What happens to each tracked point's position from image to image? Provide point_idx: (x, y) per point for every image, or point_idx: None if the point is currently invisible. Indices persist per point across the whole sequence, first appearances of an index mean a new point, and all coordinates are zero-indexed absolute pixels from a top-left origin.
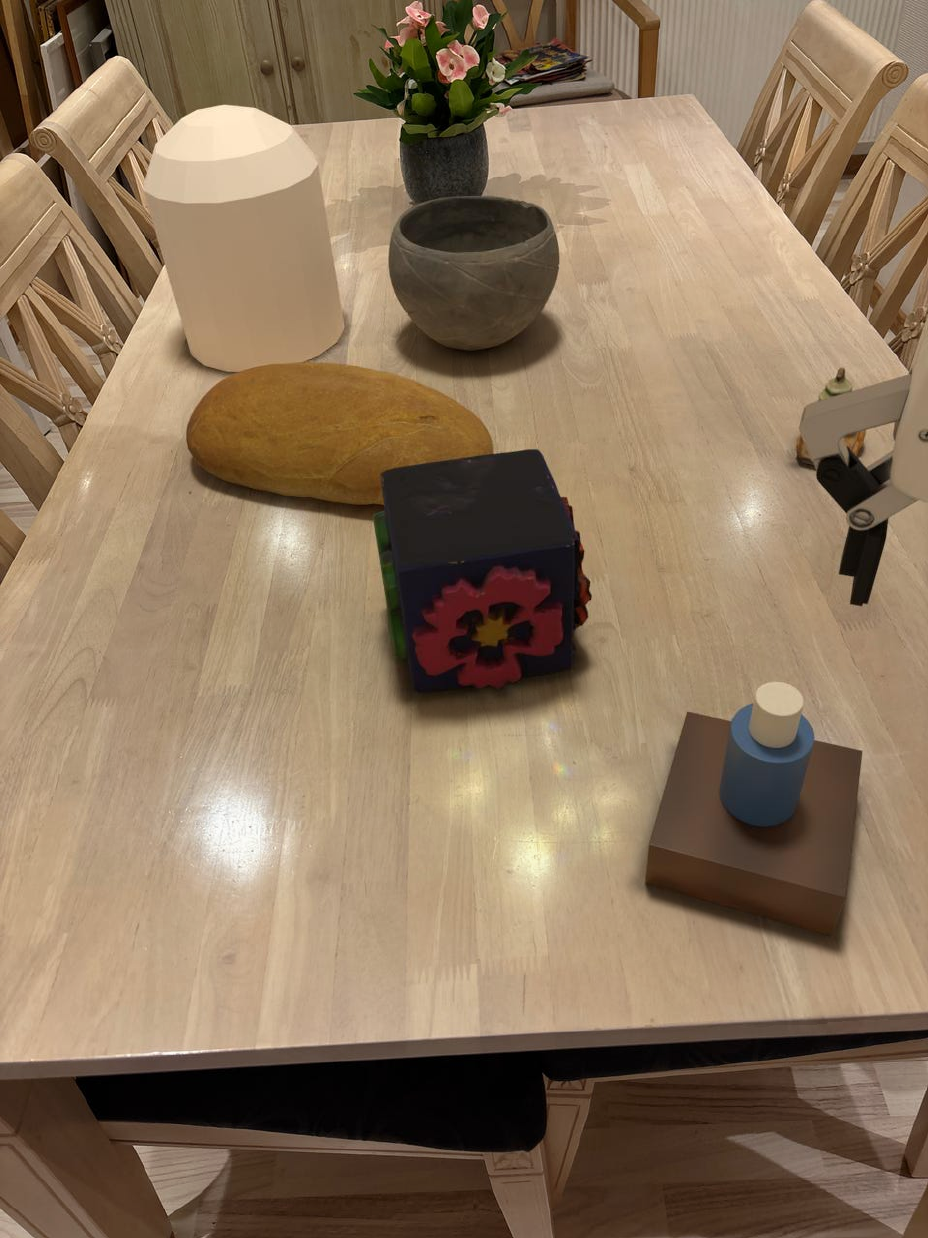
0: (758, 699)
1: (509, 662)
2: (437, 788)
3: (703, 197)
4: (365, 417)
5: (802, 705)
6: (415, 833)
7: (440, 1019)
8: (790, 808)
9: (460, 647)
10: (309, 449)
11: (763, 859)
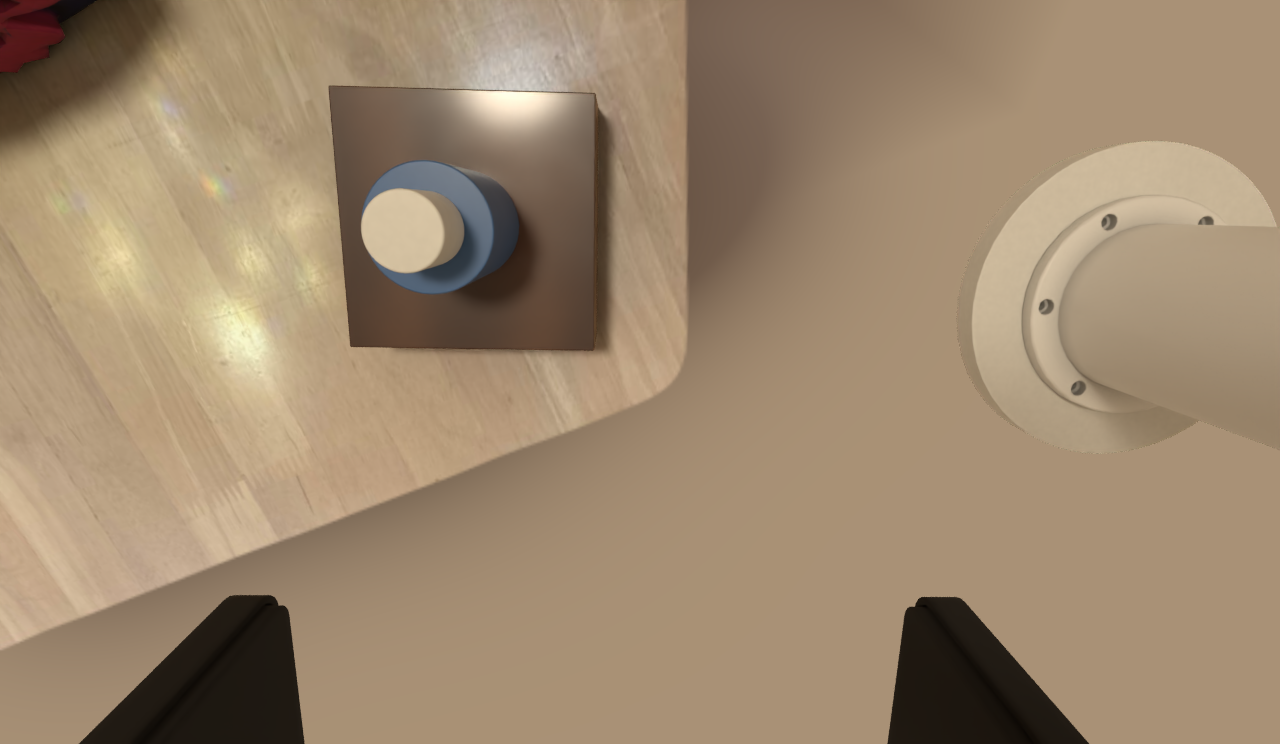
0: (368, 244)
1: (13, 33)
2: (71, 270)
3: None
4: None
5: (443, 238)
6: (85, 346)
7: (237, 543)
8: (506, 257)
9: None
10: None
11: (492, 325)
